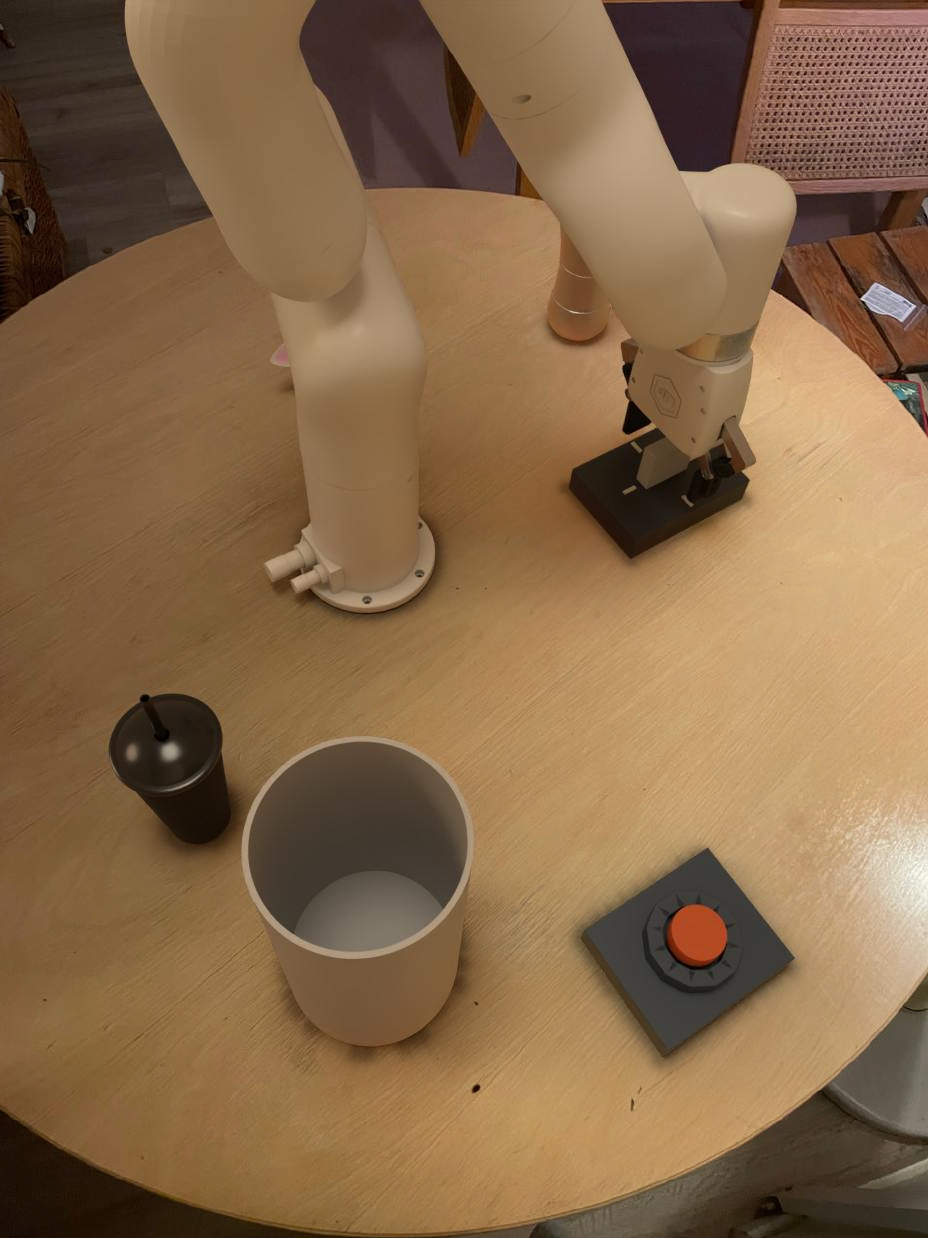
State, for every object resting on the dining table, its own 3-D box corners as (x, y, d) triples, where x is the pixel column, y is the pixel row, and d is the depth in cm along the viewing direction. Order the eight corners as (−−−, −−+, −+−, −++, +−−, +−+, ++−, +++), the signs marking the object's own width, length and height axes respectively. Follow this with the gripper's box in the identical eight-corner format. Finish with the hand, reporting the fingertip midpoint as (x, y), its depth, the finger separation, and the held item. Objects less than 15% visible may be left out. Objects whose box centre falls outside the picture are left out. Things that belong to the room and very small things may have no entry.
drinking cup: (207, 881, 80) (150, 776, 63) (131, 829, 82) (56, 714, 65) (268, 802, 83) (230, 683, 66) (194, 755, 85) (139, 627, 68)
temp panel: (630, 559, 98) (636, 539, 95) (568, 488, 102) (572, 467, 99) (742, 499, 102) (751, 478, 99) (678, 433, 106) (684, 412, 104)
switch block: (662, 1057, 74) (674, 1047, 71) (580, 938, 79) (587, 923, 75) (786, 965, 78) (803, 951, 75) (701, 856, 82) (713, 839, 79)
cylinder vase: (267, 914, 79) (213, 782, 57) (420, 853, 82) (422, 706, 61) (321, 1078, 73) (283, 998, 52) (484, 1006, 76) (511, 902, 55)
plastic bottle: (607, 350, 113) (641, 187, 96) (545, 347, 112) (568, 184, 95) (603, 309, 116) (635, 145, 99) (543, 306, 116) (565, 141, 99)
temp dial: (646, 489, 98) (656, 456, 94) (635, 478, 99) (645, 445, 95) (686, 469, 100) (698, 435, 96) (676, 458, 101) (687, 424, 97)
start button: (690, 978, 74) (695, 972, 72) (655, 930, 76) (659, 923, 74) (732, 947, 75) (739, 941, 74) (697, 901, 77) (702, 894, 75)
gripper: (607, 274, 86) (581, 417, 101) (745, 406, 79) (695, 540, 93) (677, 244, 88) (642, 388, 103) (817, 369, 81) (758, 505, 95)
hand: (667, 460), depth 98 cm, fingers open, 9 cm apart
